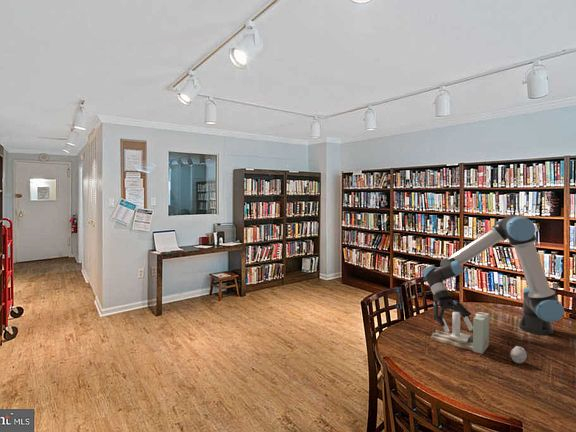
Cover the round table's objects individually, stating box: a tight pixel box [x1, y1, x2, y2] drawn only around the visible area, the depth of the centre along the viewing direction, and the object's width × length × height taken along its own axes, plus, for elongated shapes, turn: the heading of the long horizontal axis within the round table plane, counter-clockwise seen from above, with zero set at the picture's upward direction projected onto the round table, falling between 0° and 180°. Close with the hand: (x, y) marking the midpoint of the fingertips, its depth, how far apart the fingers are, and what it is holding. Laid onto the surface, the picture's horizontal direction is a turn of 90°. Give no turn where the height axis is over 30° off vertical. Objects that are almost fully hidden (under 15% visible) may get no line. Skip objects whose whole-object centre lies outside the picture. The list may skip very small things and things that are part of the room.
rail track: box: [430, 329, 473, 351], centre depth 174 cm, size 20×10×2 cm, turn 47°
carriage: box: [449, 311, 473, 342], centre depth 171 cm, size 11×8×12 cm
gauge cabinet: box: [472, 311, 490, 354], centre depth 166 cm, size 5×12×17 cm, turn 137°
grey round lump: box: [509, 345, 528, 365], centre depth 152 cm, size 6×7×7 cm
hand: (460, 330), depth 171 cm, fingers open, 13 cm apart
